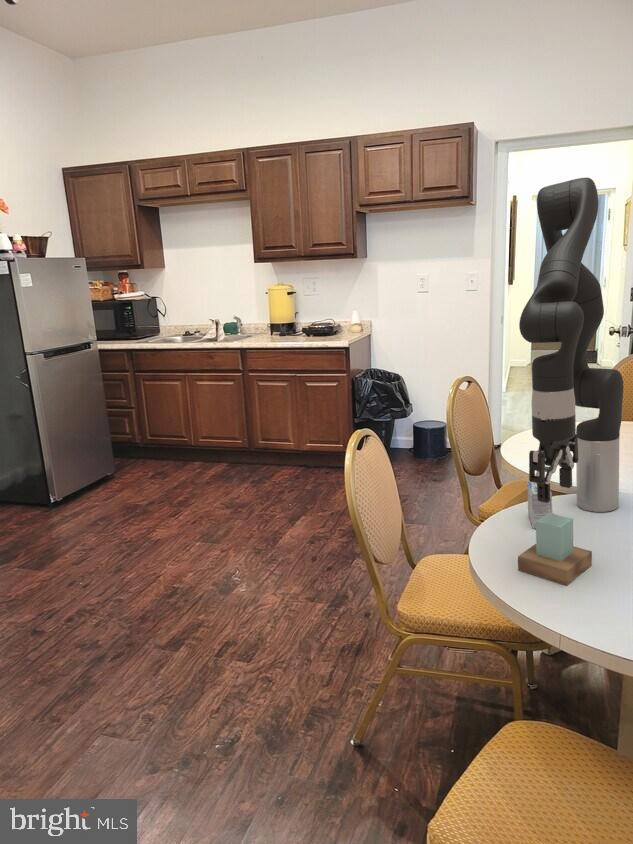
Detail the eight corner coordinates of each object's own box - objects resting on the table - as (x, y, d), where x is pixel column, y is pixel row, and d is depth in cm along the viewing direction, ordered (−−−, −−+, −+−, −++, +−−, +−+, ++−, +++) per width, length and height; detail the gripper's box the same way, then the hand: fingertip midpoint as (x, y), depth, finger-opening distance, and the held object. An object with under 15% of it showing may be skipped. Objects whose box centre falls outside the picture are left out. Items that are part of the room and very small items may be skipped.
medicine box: (553, 529, 136) (552, 492, 134) (532, 529, 137) (531, 493, 135) (547, 515, 144) (546, 480, 142) (527, 515, 145) (526, 481, 143)
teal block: (549, 545, 123) (548, 513, 121) (573, 551, 119) (573, 518, 117) (536, 554, 119) (535, 521, 118) (561, 561, 116) (560, 527, 114)
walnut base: (543, 551, 127) (543, 538, 126) (591, 565, 119) (591, 551, 118) (518, 570, 120) (517, 556, 120) (567, 585, 113) (566, 571, 112)
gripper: (552, 401, 119) (554, 479, 123) (514, 419, 110) (517, 502, 114) (591, 404, 114) (591, 486, 118) (553, 423, 105) (555, 511, 109)
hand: (555, 494), depth 116 cm, fingers open, 8 cm apart
